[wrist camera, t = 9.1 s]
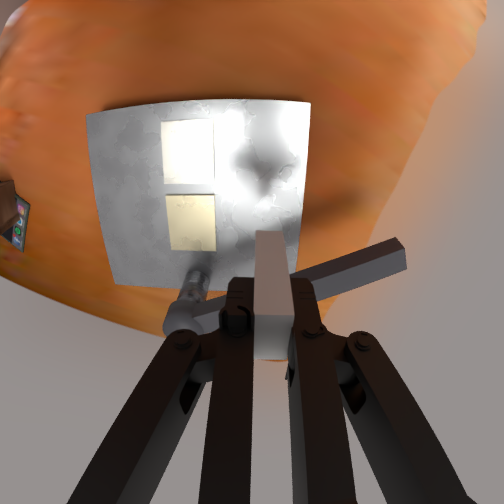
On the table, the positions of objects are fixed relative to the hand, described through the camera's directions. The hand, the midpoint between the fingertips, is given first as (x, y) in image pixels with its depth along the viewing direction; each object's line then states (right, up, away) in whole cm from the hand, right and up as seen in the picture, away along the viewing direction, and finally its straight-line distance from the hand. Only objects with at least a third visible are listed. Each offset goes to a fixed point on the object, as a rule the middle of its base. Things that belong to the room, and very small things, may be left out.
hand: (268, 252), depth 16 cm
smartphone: (-36, +7, +9) cm, 38 cm away
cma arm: (+1, -3, +4) cm, 5 cm away
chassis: (-6, +5, +9) cm, 12 cm away
